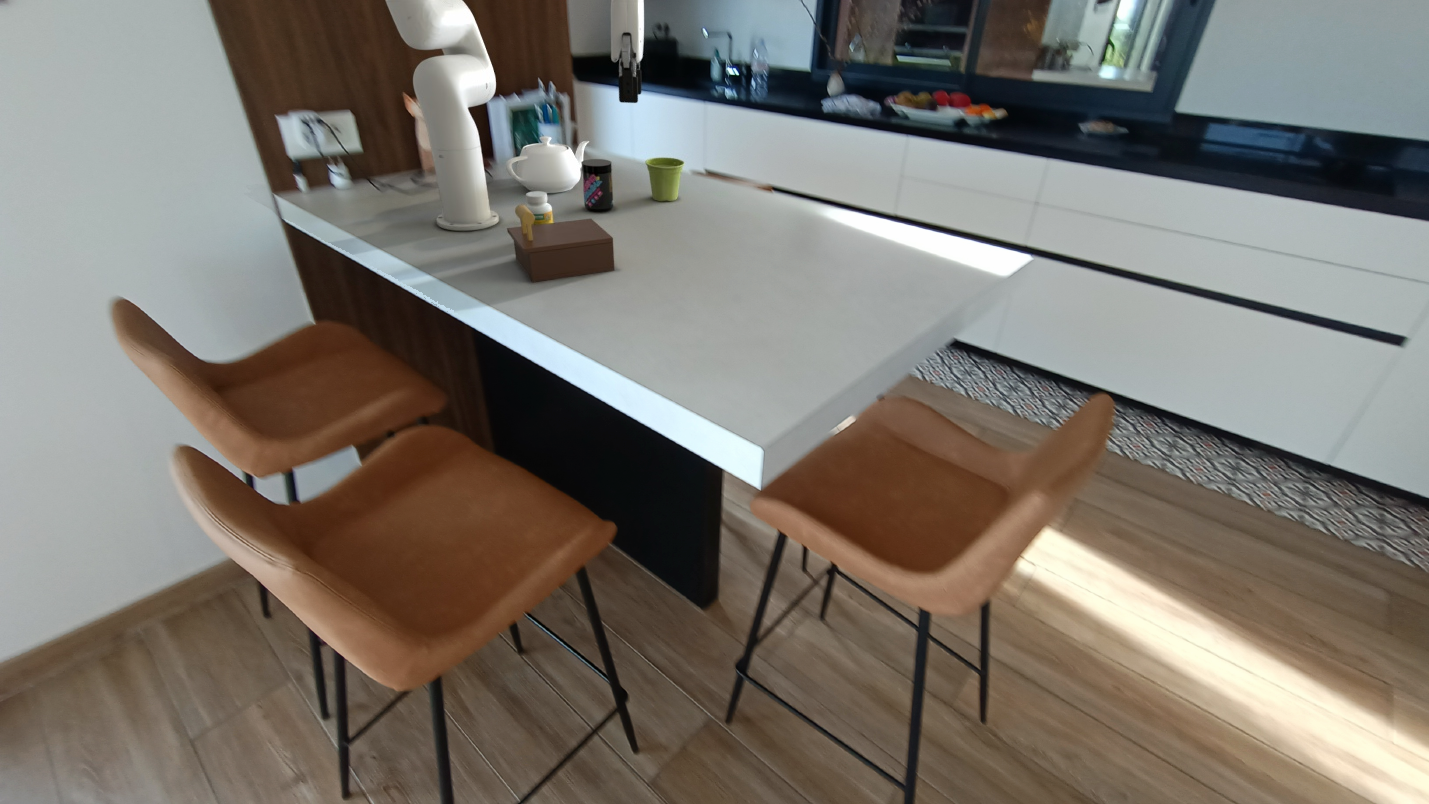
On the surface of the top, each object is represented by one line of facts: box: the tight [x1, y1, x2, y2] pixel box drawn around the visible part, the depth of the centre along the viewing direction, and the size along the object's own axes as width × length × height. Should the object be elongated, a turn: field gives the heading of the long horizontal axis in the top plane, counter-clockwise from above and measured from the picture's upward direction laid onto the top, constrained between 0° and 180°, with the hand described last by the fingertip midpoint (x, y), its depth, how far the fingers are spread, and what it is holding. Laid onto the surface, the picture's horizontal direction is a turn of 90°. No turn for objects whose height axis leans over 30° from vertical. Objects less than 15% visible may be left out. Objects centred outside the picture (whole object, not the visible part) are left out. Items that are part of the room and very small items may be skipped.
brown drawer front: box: [506, 204, 614, 253], centre depth 118 cm, size 16×12×6 cm
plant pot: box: [644, 157, 685, 202], centre depth 160 cm, size 9×9×9 cm
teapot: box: [505, 135, 590, 194], centre depth 163 cm, size 25×16×12 cm, turn 139°
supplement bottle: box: [524, 191, 554, 225], centre depth 130 cm, size 5×5×10 cm
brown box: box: [513, 240, 615, 283], centre depth 121 cm, size 15×12×5 cm
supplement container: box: [581, 158, 614, 214], centre depth 150 cm, size 7×7×10 cm
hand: (630, 98), depth 117 cm, fingers open, 9 cm apart
